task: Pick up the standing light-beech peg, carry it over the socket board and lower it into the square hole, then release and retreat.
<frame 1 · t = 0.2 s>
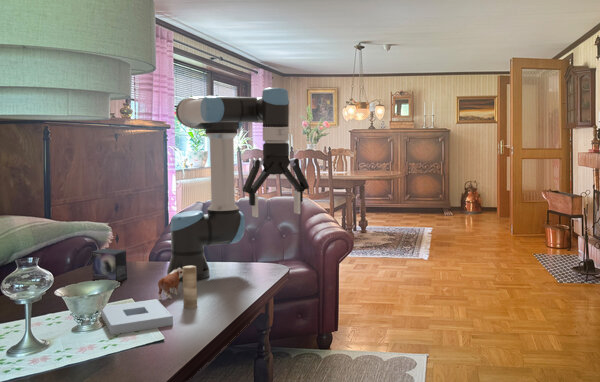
hand: (276, 215, 167), 28 cm above the table, fingers open, 13 cm apart
peg: (190, 306, 171), on the table
small box: (110, 280, 203), on the table
bull figurine: (171, 296, 182), on the table
socket board: (136, 320, 159), on the table
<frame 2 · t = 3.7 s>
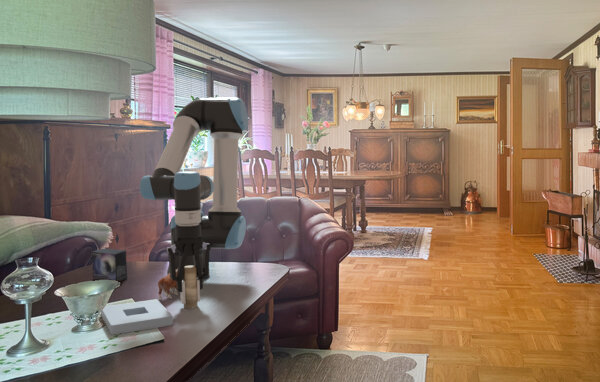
hand: (190, 301, 171), 2 cm above the table, fingers closed on peg, 4 cm apart
peg: (190, 306, 171), on the table, touching gripper
everything else where it was.
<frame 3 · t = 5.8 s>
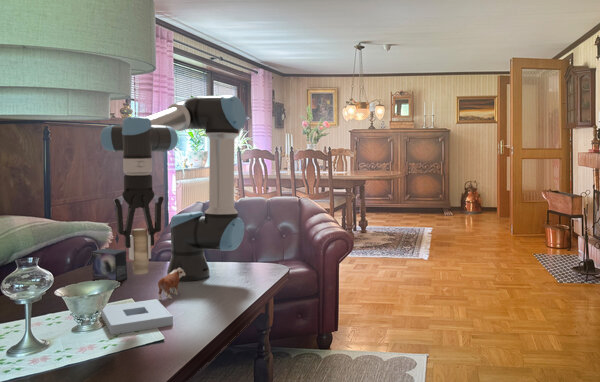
hand: (140, 258, 158), 17 cm above the table, fingers closed on peg, 4 cm apart
peg: (140, 272, 158), point 13 cm above the table, touching gripper
everything else where it was.
when the fingers open (4 cm above the table, at t = 8.1 s): peg stays where it is, resting in socket board.
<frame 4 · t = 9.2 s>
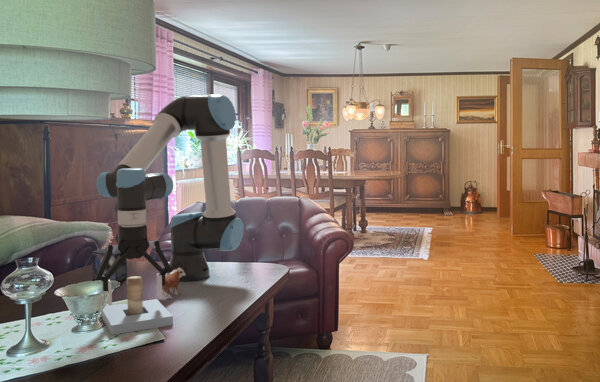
hand: (135, 300, 158), 6 cm above the table, fingers open, 13 cm apart
peg: (135, 320, 158), resting in socket board
everything else where it was.
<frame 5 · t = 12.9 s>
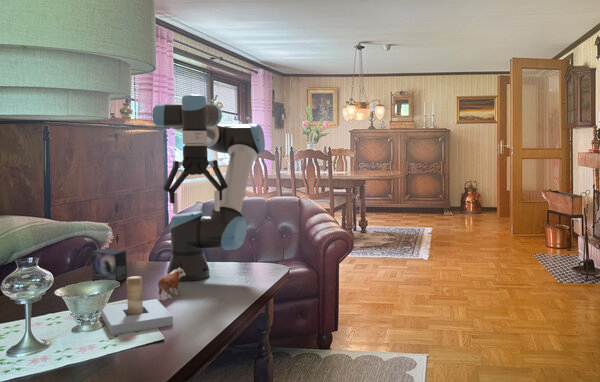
hand: (196, 212, 181), 27 cm above the table, fingers open, 13 cm apart
nothing on the table moved.
at the end: peg 0.2 cm off-centre on the socket board, point 0.0 cm above the socket board's base; peg tilted 0°; the gripper is holding nothing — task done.
